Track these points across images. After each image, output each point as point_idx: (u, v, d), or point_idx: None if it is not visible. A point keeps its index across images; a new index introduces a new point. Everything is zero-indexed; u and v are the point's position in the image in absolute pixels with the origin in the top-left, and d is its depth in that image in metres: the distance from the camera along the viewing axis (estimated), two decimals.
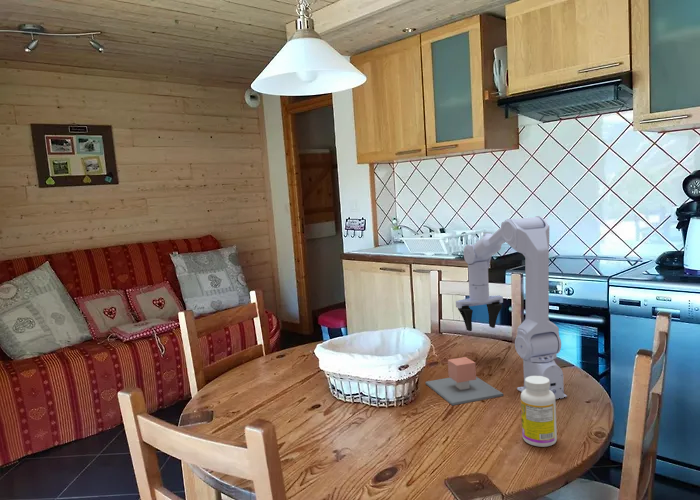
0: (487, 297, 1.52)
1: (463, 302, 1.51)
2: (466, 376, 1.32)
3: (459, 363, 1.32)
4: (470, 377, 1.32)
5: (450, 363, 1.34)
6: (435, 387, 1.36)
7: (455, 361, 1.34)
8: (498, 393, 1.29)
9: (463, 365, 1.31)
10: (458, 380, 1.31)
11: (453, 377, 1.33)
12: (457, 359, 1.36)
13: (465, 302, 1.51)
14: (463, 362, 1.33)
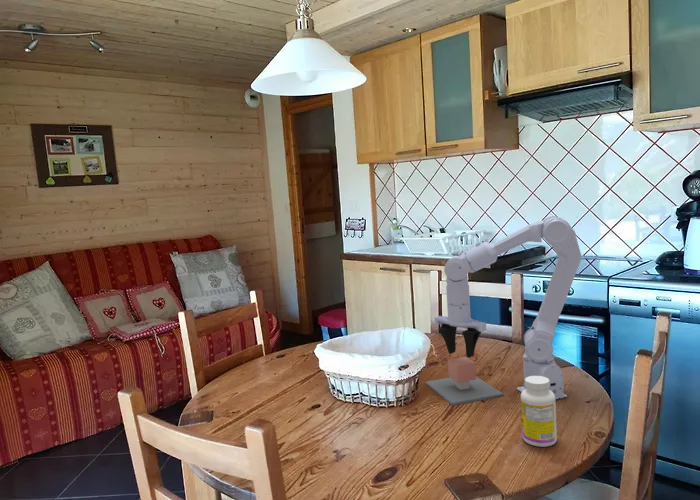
0: (457, 320, 1.30)
1: (438, 319, 1.36)
2: (466, 376, 1.32)
3: (459, 363, 1.32)
4: (470, 377, 1.32)
5: (450, 363, 1.34)
6: (435, 387, 1.36)
7: (455, 361, 1.34)
8: (498, 393, 1.29)
9: (463, 365, 1.31)
10: (458, 380, 1.31)
11: (453, 377, 1.33)
12: (457, 359, 1.36)
13: (439, 319, 1.36)
14: (463, 362, 1.33)
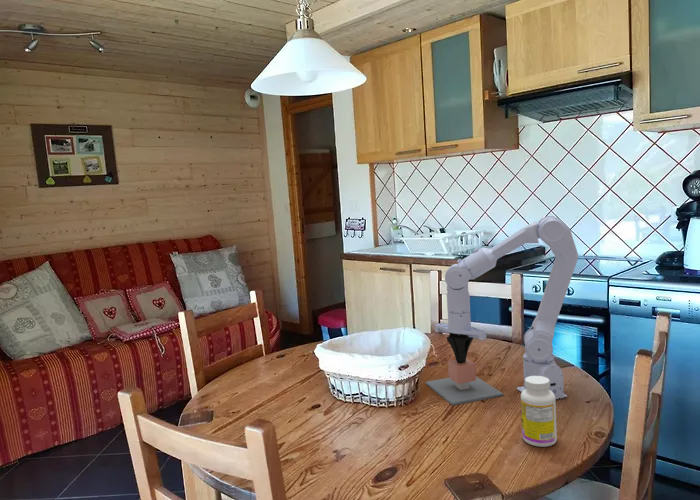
0: (458, 328, 1.30)
1: (438, 326, 1.36)
2: (466, 377, 1.32)
3: (459, 364, 1.32)
4: (470, 378, 1.32)
5: (450, 364, 1.34)
6: (435, 387, 1.36)
7: (455, 362, 1.34)
8: (498, 393, 1.29)
9: (463, 366, 1.31)
10: (458, 381, 1.31)
11: (453, 378, 1.33)
12: None
13: (440, 327, 1.36)
14: (463, 363, 1.33)
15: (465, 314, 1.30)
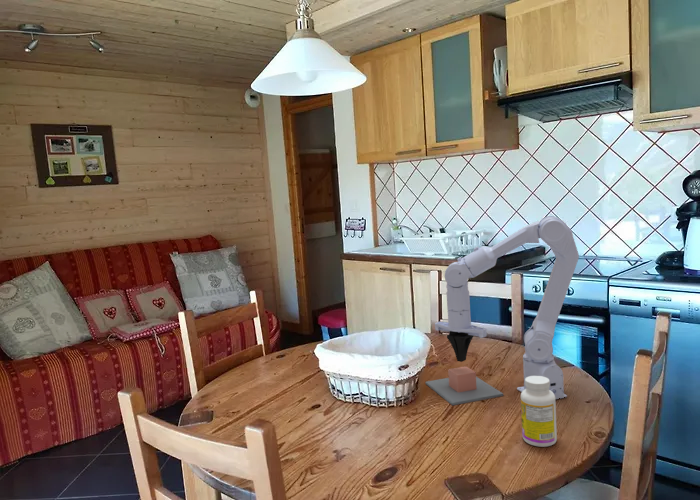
0: (458, 326, 1.30)
1: (438, 325, 1.36)
2: (466, 386, 1.32)
3: (459, 373, 1.32)
4: (470, 387, 1.32)
5: (450, 372, 1.35)
6: (435, 387, 1.36)
7: (455, 371, 1.34)
8: (498, 393, 1.29)
9: (463, 375, 1.32)
10: (458, 390, 1.31)
11: (453, 387, 1.34)
12: (457, 368, 1.36)
13: (440, 325, 1.36)
14: (463, 372, 1.33)
15: (465, 312, 1.30)
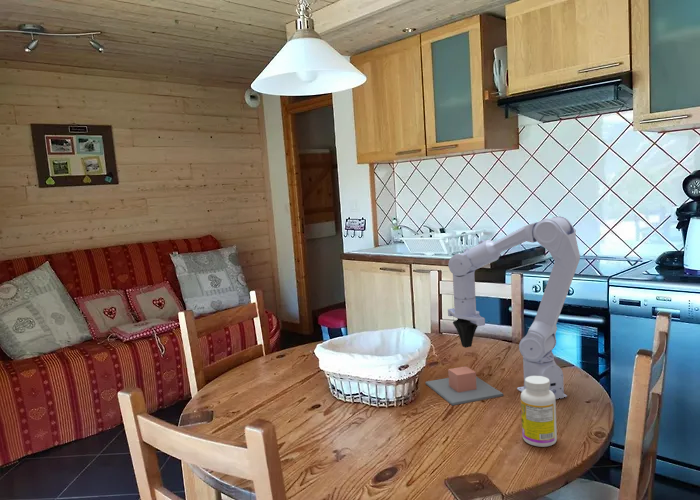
0: (460, 313, 1.37)
1: (450, 311, 1.44)
2: (466, 386, 1.32)
3: (459, 373, 1.32)
4: (470, 387, 1.32)
5: (450, 372, 1.35)
6: (435, 387, 1.36)
7: (455, 371, 1.34)
8: (498, 393, 1.29)
9: (463, 375, 1.32)
10: (458, 390, 1.31)
11: (453, 387, 1.34)
12: (457, 368, 1.36)
13: (450, 311, 1.44)
14: (463, 372, 1.33)
15: (467, 300, 1.36)
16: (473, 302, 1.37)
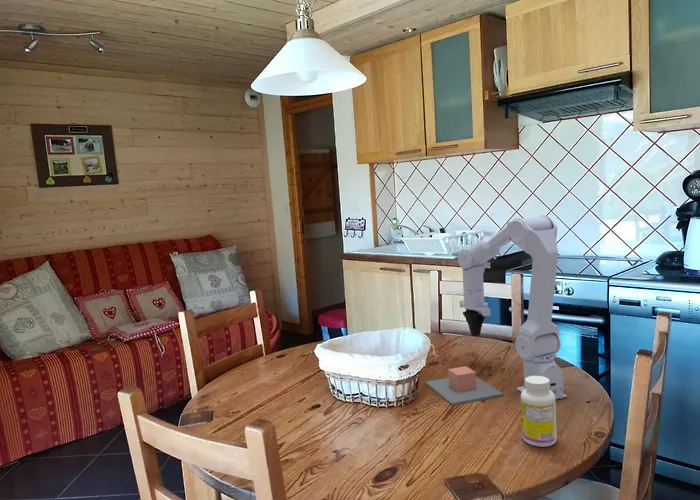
0: (468, 304, 1.47)
1: (461, 302, 1.55)
2: (466, 386, 1.32)
3: (459, 373, 1.32)
4: (470, 387, 1.32)
5: (450, 372, 1.35)
6: (435, 387, 1.36)
7: (455, 371, 1.34)
8: (498, 393, 1.29)
9: (463, 375, 1.32)
10: (458, 390, 1.31)
11: (453, 387, 1.34)
12: (457, 368, 1.36)
13: (461, 302, 1.54)
14: (463, 372, 1.33)
15: (475, 292, 1.46)
16: (481, 294, 1.47)
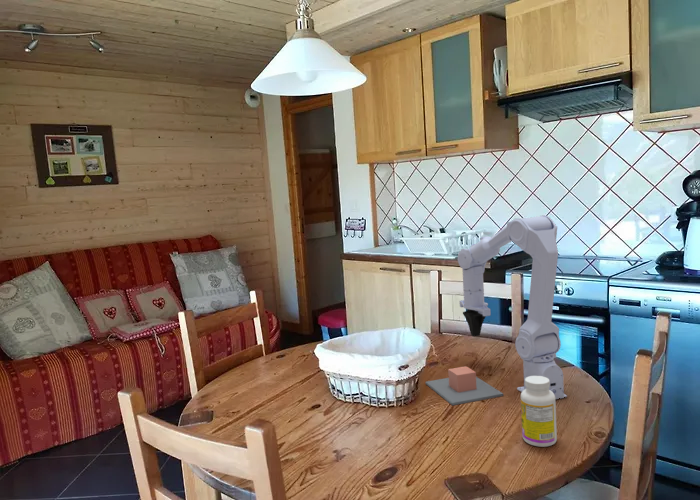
0: (468, 304, 1.47)
1: (461, 302, 1.55)
2: (466, 386, 1.32)
3: (459, 373, 1.32)
4: (470, 387, 1.32)
5: (450, 372, 1.35)
6: (435, 387, 1.36)
7: (455, 371, 1.34)
8: (498, 393, 1.29)
9: (463, 375, 1.32)
10: (458, 390, 1.31)
11: (453, 387, 1.34)
12: (457, 368, 1.36)
13: (461, 303, 1.54)
14: (463, 372, 1.33)
15: (475, 292, 1.46)
16: (481, 294, 1.47)
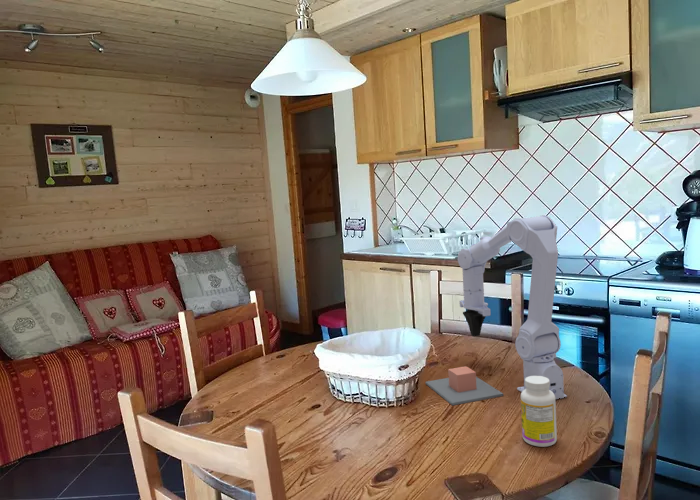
0: (468, 304, 1.47)
1: (461, 302, 1.55)
2: (466, 386, 1.32)
3: (459, 373, 1.32)
4: (470, 387, 1.32)
5: (450, 372, 1.35)
6: (435, 387, 1.36)
7: (455, 371, 1.34)
8: (498, 393, 1.29)
9: (463, 375, 1.32)
10: (458, 390, 1.31)
11: (453, 387, 1.34)
12: (457, 368, 1.36)
13: (461, 303, 1.54)
14: (463, 372, 1.33)
15: (475, 292, 1.46)
16: (481, 294, 1.47)
